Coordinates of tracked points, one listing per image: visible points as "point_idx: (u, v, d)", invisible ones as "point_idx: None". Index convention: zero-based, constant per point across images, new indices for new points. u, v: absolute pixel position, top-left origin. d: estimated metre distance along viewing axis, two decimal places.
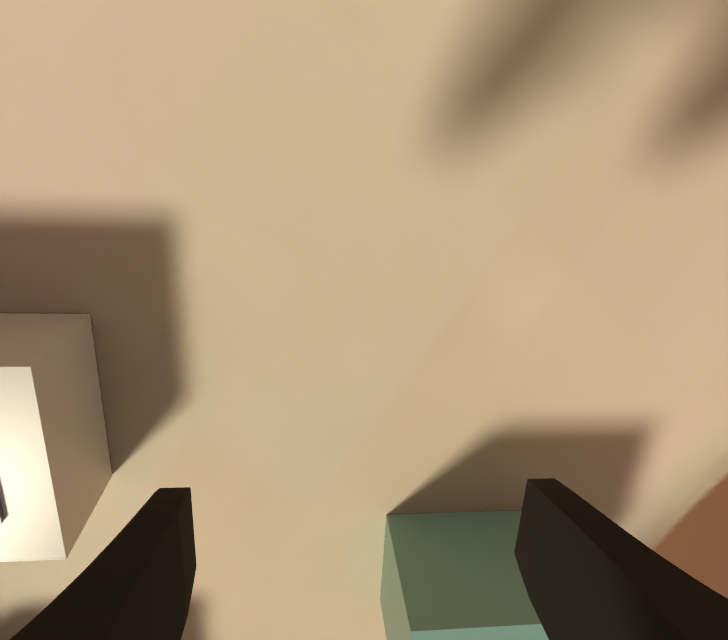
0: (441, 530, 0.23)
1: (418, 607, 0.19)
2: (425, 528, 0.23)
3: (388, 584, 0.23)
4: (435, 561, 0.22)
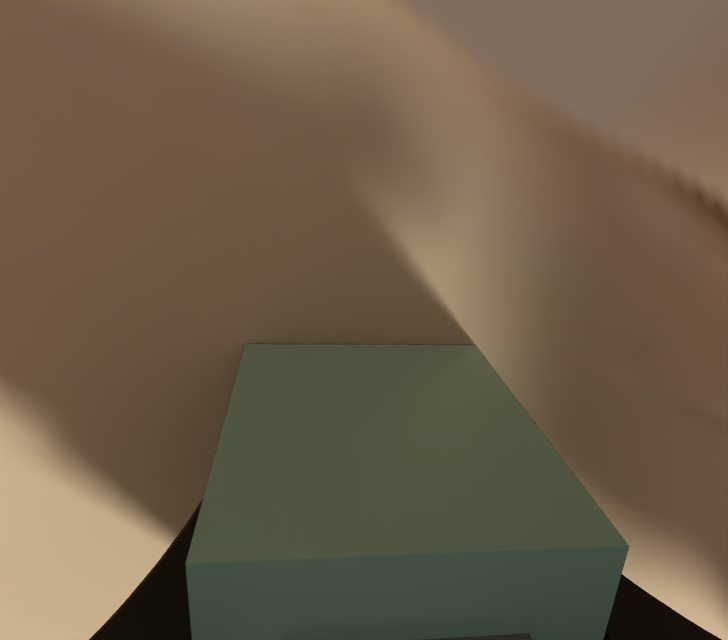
0: None
1: None
2: None
3: None
4: None
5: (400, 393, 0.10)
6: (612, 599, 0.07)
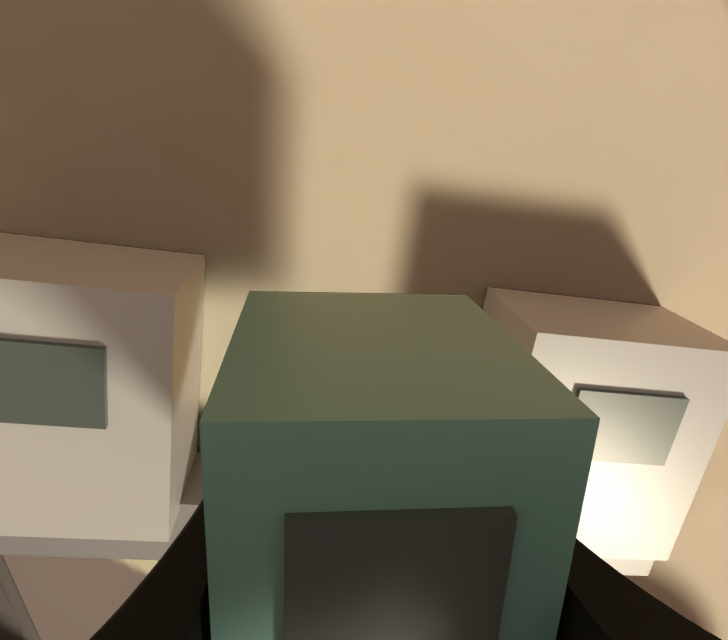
0: None
1: None
2: None
3: None
4: None
5: (395, 323, 0.10)
6: (587, 473, 0.07)
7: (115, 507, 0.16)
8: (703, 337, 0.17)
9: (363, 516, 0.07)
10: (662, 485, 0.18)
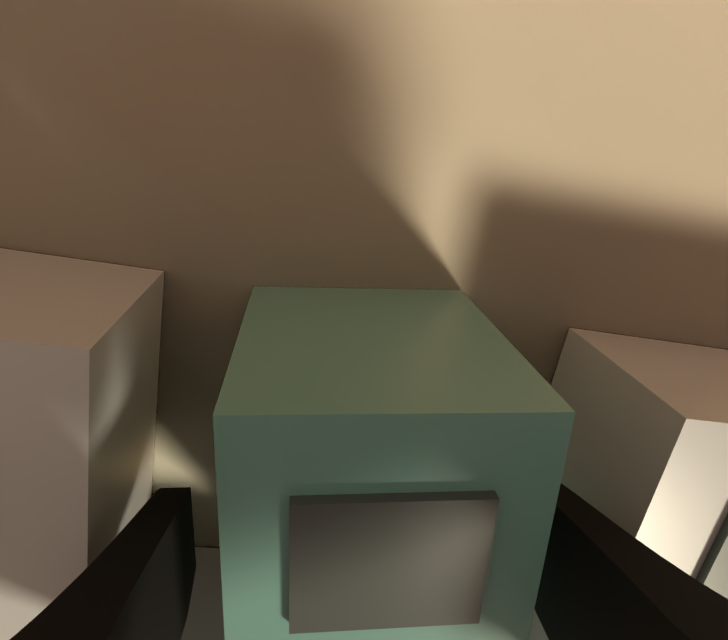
0: None
1: None
2: None
3: None
4: None
5: (391, 319, 0.11)
6: (563, 461, 0.08)
7: None
8: None
9: (360, 498, 0.08)
10: None
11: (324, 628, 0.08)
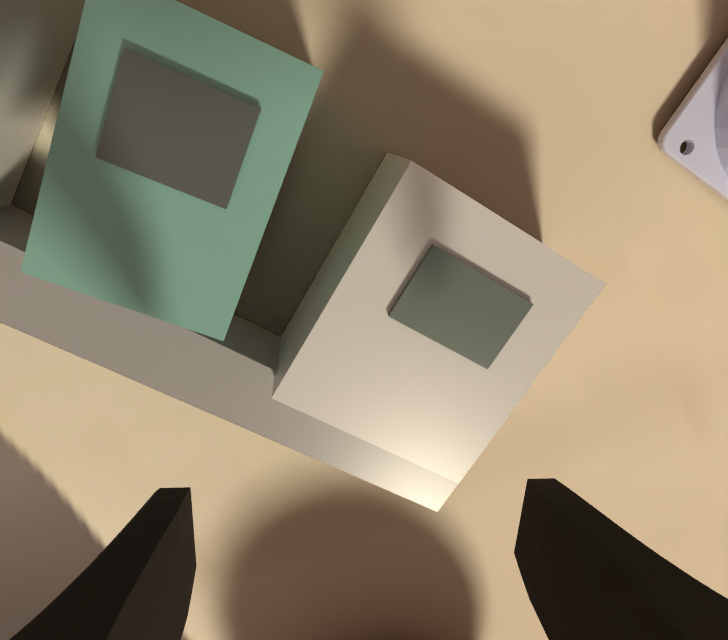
0: None
1: None
2: None
3: None
4: None
5: None
6: (309, 107, 0.12)
7: None
8: None
9: (173, 74, 0.12)
10: (479, 394, 0.17)
11: (120, 167, 0.12)
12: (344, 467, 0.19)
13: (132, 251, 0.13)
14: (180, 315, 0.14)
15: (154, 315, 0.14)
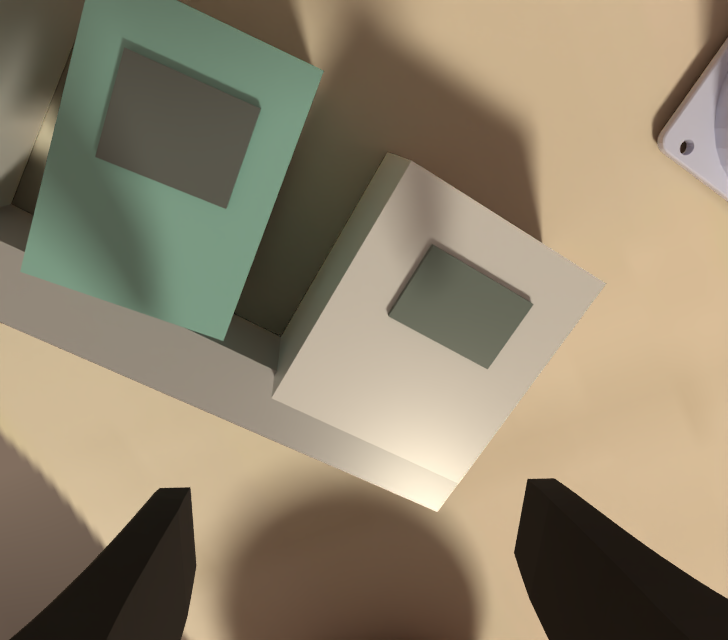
0: None
1: None
2: None
3: None
4: None
5: None
6: (309, 107, 0.12)
7: None
8: None
9: (172, 73, 0.12)
10: (479, 394, 0.17)
11: (120, 166, 0.12)
12: (344, 467, 0.19)
13: (132, 251, 0.13)
14: (180, 315, 0.14)
15: (154, 315, 0.13)
